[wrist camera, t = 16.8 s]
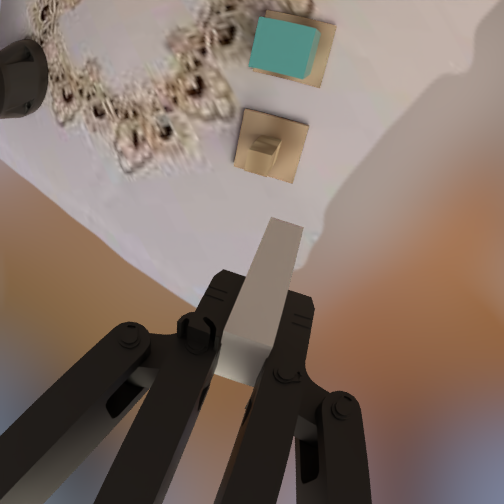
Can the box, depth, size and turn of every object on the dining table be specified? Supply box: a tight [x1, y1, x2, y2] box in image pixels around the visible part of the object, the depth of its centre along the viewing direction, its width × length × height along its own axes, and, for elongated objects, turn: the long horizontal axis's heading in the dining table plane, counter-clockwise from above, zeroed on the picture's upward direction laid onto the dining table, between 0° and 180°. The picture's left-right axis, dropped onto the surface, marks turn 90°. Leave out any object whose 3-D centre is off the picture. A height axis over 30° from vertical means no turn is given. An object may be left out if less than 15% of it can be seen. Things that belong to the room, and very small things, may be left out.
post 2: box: [234, 108, 309, 183], centre depth 36 cm, size 8×8×7 cm
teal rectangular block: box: [248, 16, 321, 79], centre depth 27 cm, size 5×5×8 cm
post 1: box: [253, 10, 337, 88], centre depth 28 cm, size 8×8×7 cm
